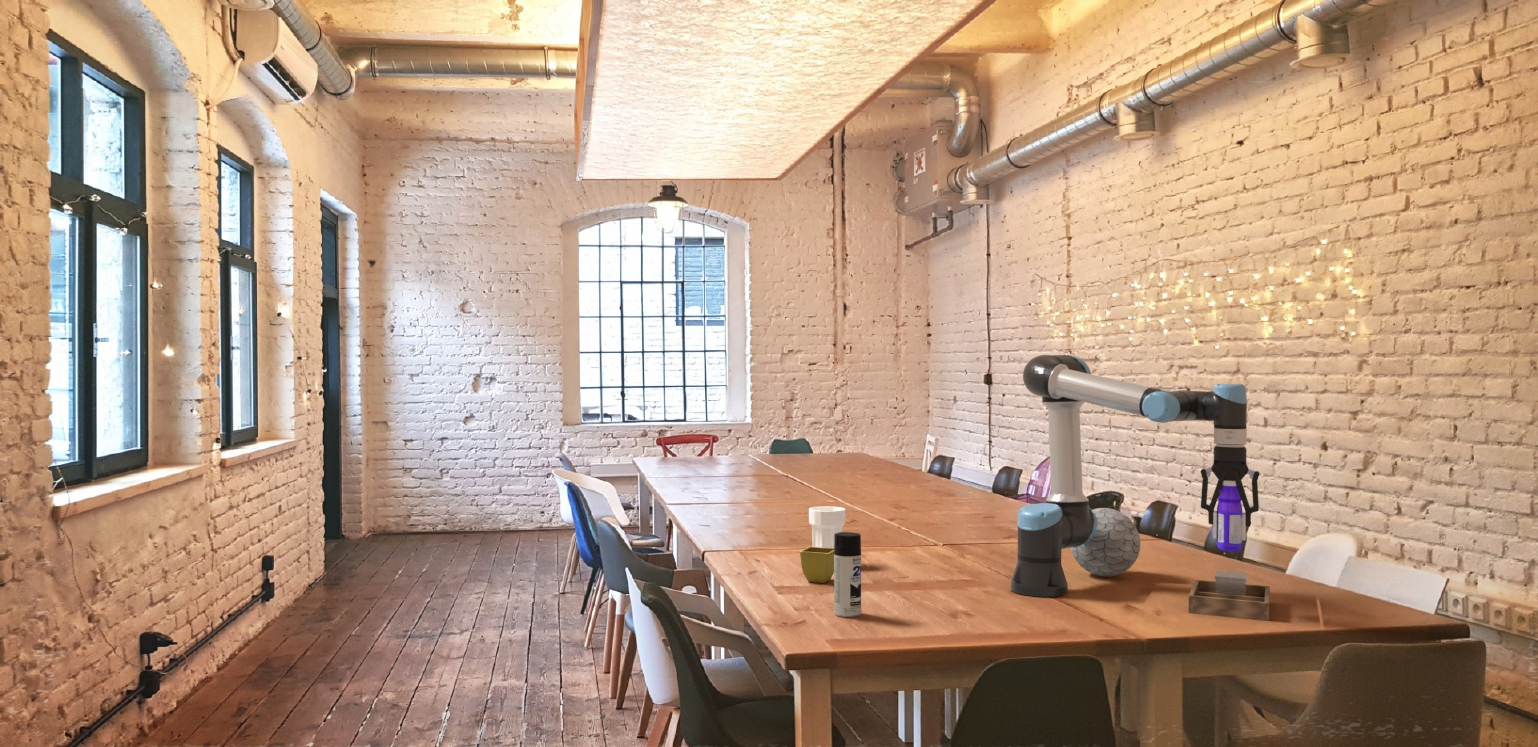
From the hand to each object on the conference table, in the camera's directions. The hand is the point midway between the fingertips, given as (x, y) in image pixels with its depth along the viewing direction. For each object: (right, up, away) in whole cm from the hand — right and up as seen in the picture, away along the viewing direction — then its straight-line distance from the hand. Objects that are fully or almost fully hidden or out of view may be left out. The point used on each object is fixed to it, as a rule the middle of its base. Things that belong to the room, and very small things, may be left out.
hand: (1229, 538), depth 265 cm
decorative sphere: (-16, -19, +48) cm, 54 cm away
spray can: (-95, -19, -2) cm, 97 cm away
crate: (+2, -19, +5) cm, 20 cm away
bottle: (0, -3, 0) cm, 3 cm away
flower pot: (-100, -18, +38) cm, 109 cm away
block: (+4, -18, +9) cm, 21 cm away
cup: (-97, -18, +62) cm, 116 cm away
